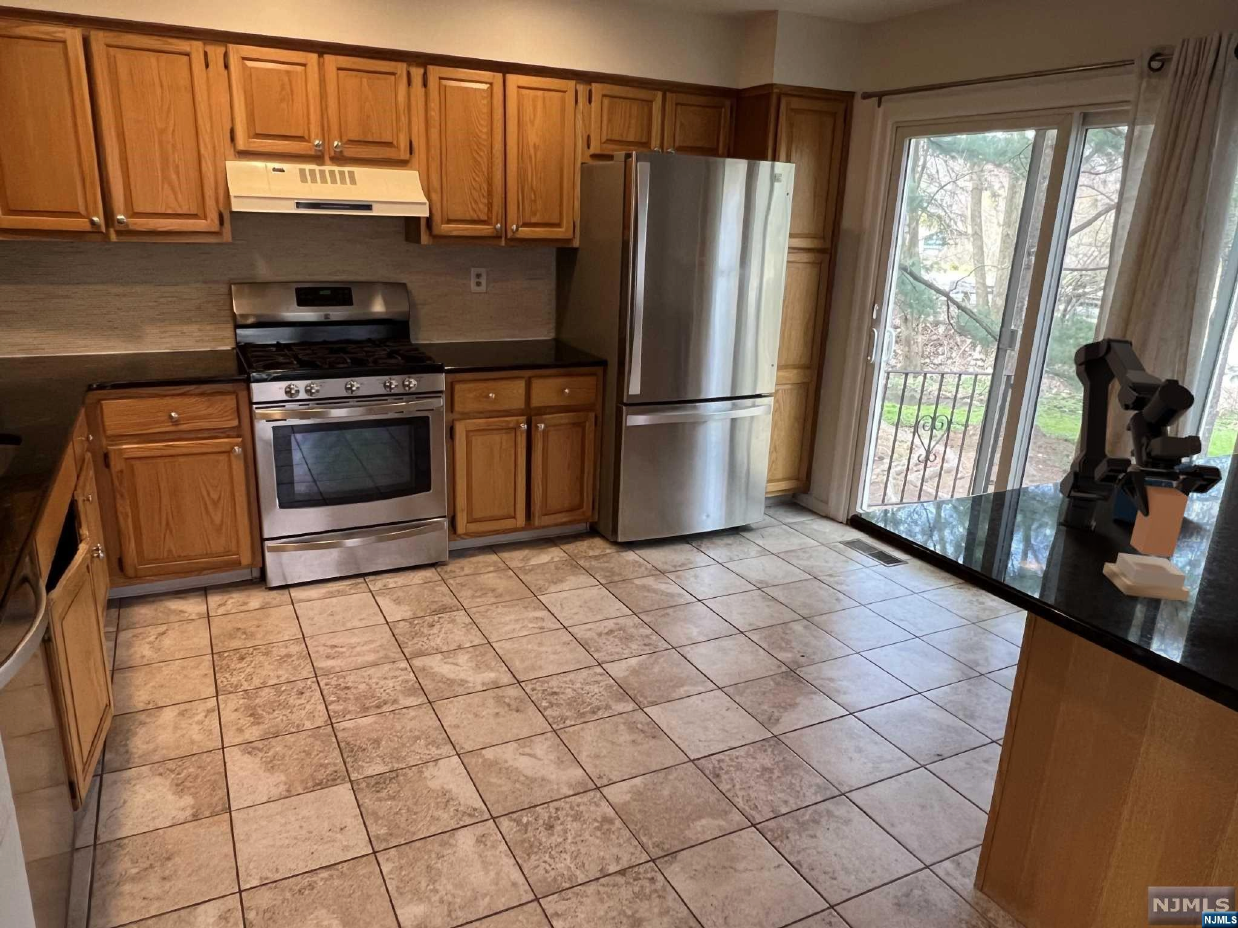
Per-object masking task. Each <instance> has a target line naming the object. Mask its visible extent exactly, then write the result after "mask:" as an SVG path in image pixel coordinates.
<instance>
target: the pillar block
mask: <svg viewBox="0 0 1238 928" xmlns="http://www.w3.org/2000/svg"><path fill="white" fill-rule="evenodd" d="M1145 490H1146V495H1147V500H1148V505H1149V515H1148V516H1147V517H1144V516H1143V515H1142V513H1141V512H1140V511H1139V510H1138V513H1137V518H1136V522H1135V525H1134V527H1133V529H1132V534H1131V539H1130V542H1129V544H1130V545H1131V546H1132V547H1133V548H1134V549H1136V550H1137V551H1138V552H1139V553H1141V555H1149V556H1158V557H1168V558H1173V557H1174V553H1175V551H1176V546H1177V542H1178V539H1179V535H1180V531H1181V528H1182V523H1183V520H1184V516H1185V512H1186V508H1187V504H1188V502H1189V497H1188V496H1186V495H1184V494H1183V493H1181V492H1180V491H1178V490H1177V489H1175V488H1165V487H1155V486H1145Z"/></svg>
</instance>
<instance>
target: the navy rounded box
mask: <svg viewBox="0 0 1238 928" xmlns="http://www.w3.org/2000/svg"><path fill="white" fill-rule="evenodd" d="M1179 432H1180V429H1177V432H1176V436H1175V437H1179V436H1178V435H1179ZM1192 466H1193V465H1191V464H1186V463H1183V462H1182V463H1181V464H1180V465H1179V466H1175V470H1178V471H1188V470H1189V469H1190V468H1191V467H1192ZM1145 486H1155V487H1165V488H1174V487H1173V483H1172V481H1163V480H1153V479H1145ZM1115 494H1116V495H1115V500H1114V503H1113V506H1112V507H1113V508H1112V512H1111V516H1112V517H1113V518H1114V519H1115V520H1117V519H1118V521H1121V520H1122V522H1124V521H1125V523H1129V524H1131V523H1132V524H1131V525H1134V524H1135V522H1136V518H1137V513H1138V508H1137V507H1136V506H1135V505H1134V503H1133V502H1132V501H1131V500H1130V499H1129V498H1128V497H1127V496H1126V495H1125V494H1124V493H1123V492H1122V491H1121V490H1120V489H1117V490H1116V493H1115Z"/></svg>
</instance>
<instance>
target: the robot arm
mask: <svg viewBox="0 0 1238 928" xmlns="http://www.w3.org/2000/svg"><path fill="white" fill-rule="evenodd" d="M1073 364H1074V366H1075V376H1076V378H1077V379H1078V381H1079V382H1080V384H1081V385H1082V387H1083V392H1082V393H1083V395H1082V410H1081V425H1080V427H1081V429H1080V440H1079V441H1080V443H1079V445H1080V446H1079V454H1077V456H1076V457H1075V459H1074V460H1072V462H1071V464H1070V466H1069V467H1070V468H1069V471H1068V473H1067V474H1065V476H1064V477H1063V479H1061V481H1060V482H1059V489H1058V491H1059V494H1061V495H1062V496H1063V497H1064V498H1065V499H1067V500H1066V503H1065V508H1064V512H1063V513H1064V514H1062V516H1061V517H1060V519H1059V521H1058V524H1059V525H1062V526H1065V527H1071V528H1075V529H1081V530H1083V531H1089V532H1092V531H1094V528H1095V526H1096V523H1097V522H1096V521H1095V520H1094V519H1095V515H1096V511H1097V506H1098V504H1099V502H1103V503H1109V501H1110V500H1111V497H1112V494H1113V492H1114V490H1115V489H1117V490H1118V489H1120V490H1121V491H1122V492H1123V493H1124V494H1125V495H1126V496H1127V497H1128V498H1129V499H1130V500H1131V501H1132V502H1133V503H1134V505H1135V506H1136V507H1137V508H1138V510H1139V511H1140V512H1141V513H1142V515H1143V516H1144V517H1147V516H1148V515H1149V505H1148V500H1147V495H1146V490H1145V479H1153V480H1163V481H1172V483H1173V487H1174V488H1175V489H1177V490H1178V491H1180V492H1181V493H1183V494H1184V495H1186V496H1188V498H1189V496H1190V494H1191V493H1192V494H1207V493H1208V492H1209V491H1210V490H1212V489H1213V488H1214V487H1216V485H1218V483H1220V482H1221V481H1222V480H1223V476H1222V471H1221V469H1220V468H1219V467H1218V466H1215V465H1208V464H1207V465H1205V464H1198V463H1197V464H1193V465H1191V466H1192V467H1191V468H1190V469H1189V470H1188V471H1178V470H1175V466H1179V465H1180V464H1181V463H1183V460H1182V459H1185V458H1191V456H1197V455H1199V454H1201V452H1202V447H1203V444H1202V440H1201V436H1200V435H1193V434H1192V435H1191V434H1188V435H1187V436H1183V437H1181V436H1177V437H1176V436H1170V434H1169V427H1172V426H1174V425H1176V424H1177V423H1178V422H1179V420H1180V419H1181V418H1182V417H1183V416H1184V415H1185V414H1186V413H1187V412H1188V411H1189V410H1190V409H1191V408H1192V406H1193V405H1195V404H1194V403H1195V396H1194V394H1192V392H1191V391H1190V390H1189V389H1188V388H1186V387H1185V386H1183V385H1181V384H1180V382H1179V379H1176V378H1175V379H1173V378H1165V380H1164V381H1163V380H1162V379H1161V377H1158V376H1155V375H1153V374H1150V373H1149V372H1148V371H1147V370H1146V368H1145V367H1144V365H1143V364H1142V362H1141V360H1140V359H1139V357H1138V355H1137V354H1136V352H1135V350H1134V348H1133V341H1131V340H1130V339H1128V338H1120V337H1119V338H1118V337H1106V338H1105V337H1104V338H1102V339H1101V340H1099V341H1098V340H1097V341H1094V342H1090V343H1085V344H1083V345H1082V346H1081V347H1079V348H1077V350H1076V351H1075V353H1074V356H1073ZM1115 378H1116V380H1117V382H1118V384H1119V386H1120V388H1119V390H1118V392H1117V400H1118V403H1119V405H1120V407H1121V409H1122V410H1123V411H1130V412H1131V411H1132V412H1135V413H1134V414H1132V416H1131V417H1130V418H1129V421H1128V423H1127V424H1126V427H1125V430H1126V431H1127V432H1130V434H1131V439H1132V447H1133V448H1132V450H1131V451H1130V457H1131V458H1132V457H1134V461H1135V463H1132V460H1131V458H1129V457H1122V456H1113V455H1108V454H1107V452H1106V451H1107V450H1106V449H1107V433H1108V432H1107V431H1108V413H1109V412H1108V411H1109V393H1110V384H1112V382H1113V380H1115Z"/></svg>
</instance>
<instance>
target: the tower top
mask: <svg viewBox="0 0 1238 928" xmlns="http://www.w3.org/2000/svg"><path fill="white" fill-rule="evenodd" d="M1115 564H1116V566H1117V567H1118V568H1119V569H1120V570H1121V571H1122V572H1123V573H1124V574H1125V576H1126V577H1127V578H1128V579H1129V580H1130V581H1131V582H1133V583H1140V584H1148V585H1156V586H1163V587H1171V588H1178V589H1182V588H1183V586H1184V584H1185V581H1186V578H1187V575H1186V574H1185V573H1183V572H1182V571H1181V570H1180V569H1179V568H1178V567H1177V566H1176V565H1174V564H1173V563H1172V562H1171V561H1170V560H1169V559H1168V558H1164V557H1155V556H1150V555H1149V556H1147V555H1142V554H1141V555H1139V554H1130V553H1125V552H1118V555H1117V558H1116V562H1115Z"/></svg>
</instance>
